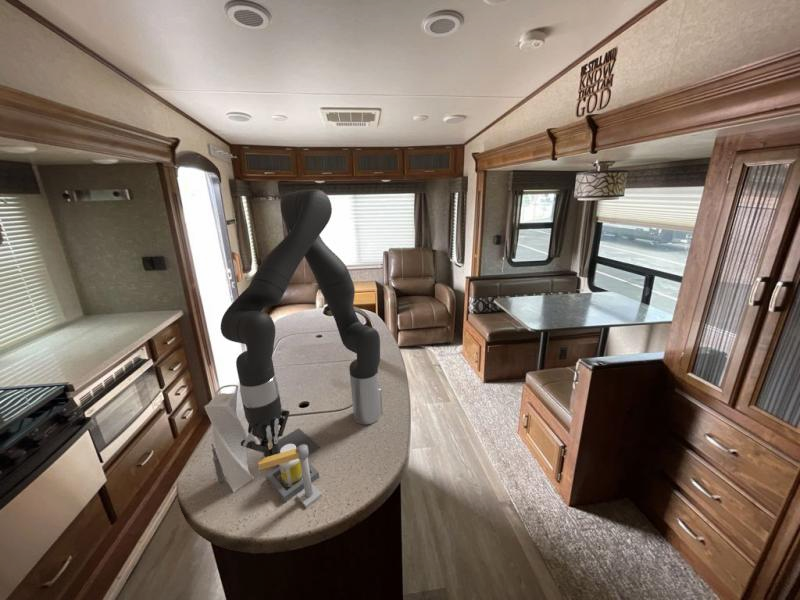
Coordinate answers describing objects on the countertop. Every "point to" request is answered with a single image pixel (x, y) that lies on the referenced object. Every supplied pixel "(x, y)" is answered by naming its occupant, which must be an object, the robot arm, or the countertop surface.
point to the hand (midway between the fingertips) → (272, 457)
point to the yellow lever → (284, 457)
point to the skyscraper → (228, 442)
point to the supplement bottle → (290, 468)
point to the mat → (297, 441)
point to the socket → (298, 484)
